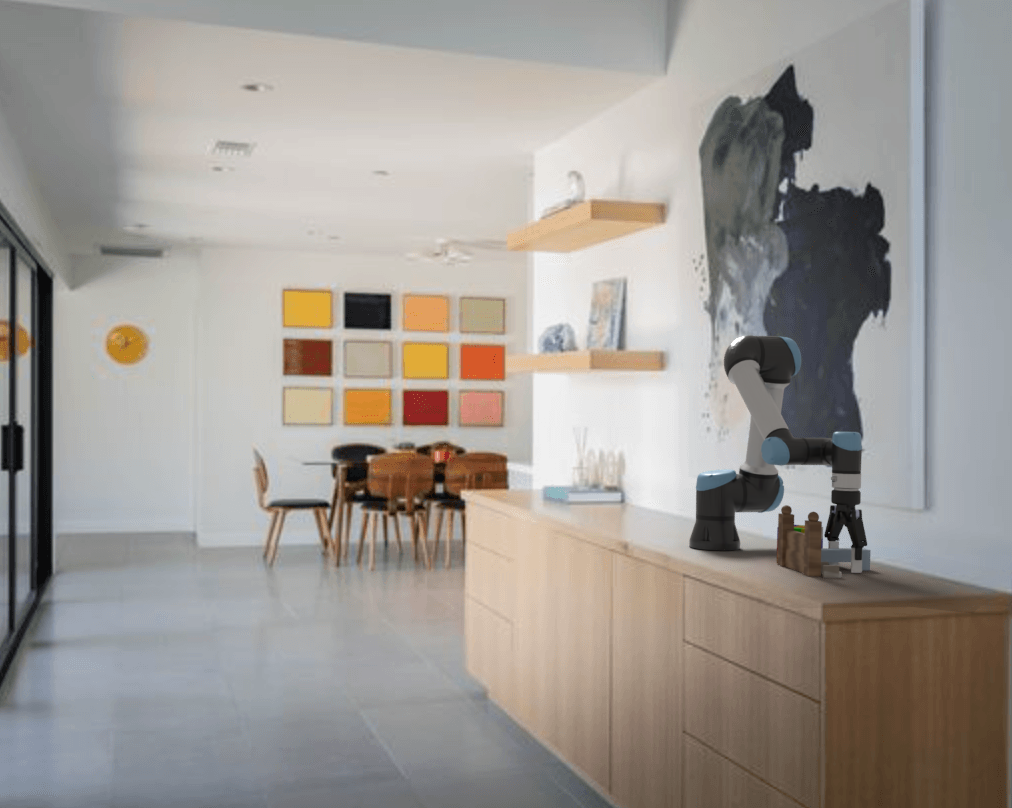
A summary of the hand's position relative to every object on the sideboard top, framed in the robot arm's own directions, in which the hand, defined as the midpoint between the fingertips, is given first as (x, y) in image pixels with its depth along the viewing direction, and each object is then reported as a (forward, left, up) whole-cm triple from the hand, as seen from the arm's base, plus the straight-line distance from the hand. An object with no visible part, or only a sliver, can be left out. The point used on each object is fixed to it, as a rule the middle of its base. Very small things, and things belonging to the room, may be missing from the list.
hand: (844, 568), depth 312 cm
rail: (0, -2, 0) cm, 2 cm away
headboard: (+2, -11, 0) cm, 11 cm away
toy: (-13, -7, 0) cm, 15 cm away
